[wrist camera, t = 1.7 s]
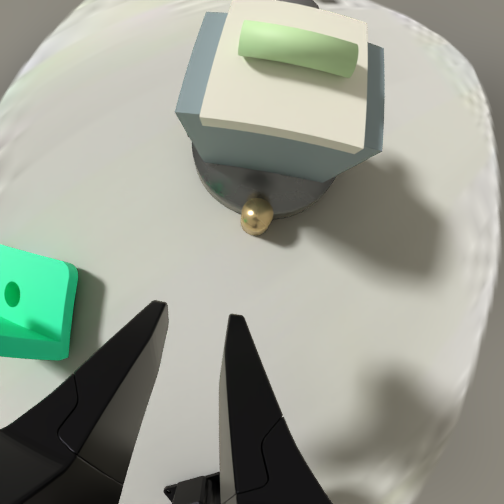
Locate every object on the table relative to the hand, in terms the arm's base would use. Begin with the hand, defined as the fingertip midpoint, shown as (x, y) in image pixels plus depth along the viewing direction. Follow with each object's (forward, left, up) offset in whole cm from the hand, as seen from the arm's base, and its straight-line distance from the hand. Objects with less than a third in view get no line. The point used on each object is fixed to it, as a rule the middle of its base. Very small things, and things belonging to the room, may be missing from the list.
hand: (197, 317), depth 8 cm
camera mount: (+8, +16, -14) cm, 23 cm away
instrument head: (+11, -10, -10) cm, 18 cm away
